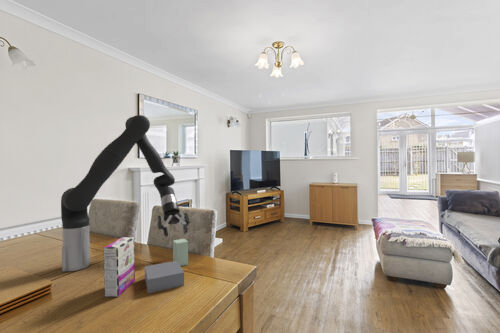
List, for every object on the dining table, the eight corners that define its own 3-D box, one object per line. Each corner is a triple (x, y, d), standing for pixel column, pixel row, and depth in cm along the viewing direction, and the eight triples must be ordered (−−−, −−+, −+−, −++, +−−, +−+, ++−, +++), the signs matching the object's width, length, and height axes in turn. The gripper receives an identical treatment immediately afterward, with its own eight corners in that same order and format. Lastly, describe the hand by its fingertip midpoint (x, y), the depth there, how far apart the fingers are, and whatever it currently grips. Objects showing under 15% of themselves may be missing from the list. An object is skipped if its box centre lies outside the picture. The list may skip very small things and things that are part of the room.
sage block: (176, 267, 102) (176, 243, 102) (173, 263, 107) (173, 240, 106) (188, 264, 105) (188, 241, 105) (184, 260, 109) (184, 238, 109)
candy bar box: (121, 281, 90) (121, 236, 90) (135, 281, 90) (135, 236, 90) (103, 297, 79) (102, 247, 79) (118, 297, 79) (118, 247, 79)
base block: (147, 294, 81) (147, 279, 81) (144, 279, 92) (144, 266, 92) (184, 286, 87) (184, 272, 87) (177, 273, 98) (177, 260, 97)
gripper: (156, 202, 115) (161, 232, 105) (185, 199, 122) (193, 227, 113) (153, 211, 119) (159, 241, 110) (182, 208, 127) (190, 236, 117)
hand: (176, 234), depth 111 cm, fingers open, 8 cm apart
